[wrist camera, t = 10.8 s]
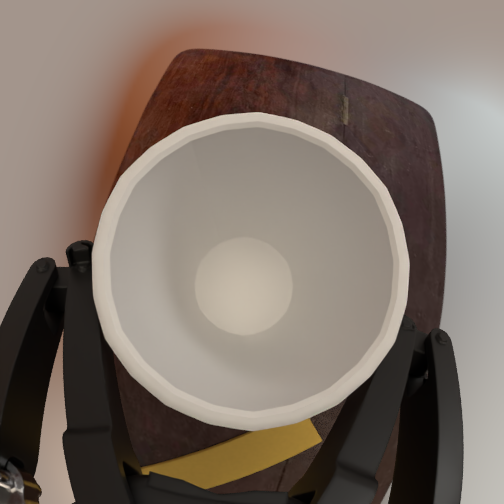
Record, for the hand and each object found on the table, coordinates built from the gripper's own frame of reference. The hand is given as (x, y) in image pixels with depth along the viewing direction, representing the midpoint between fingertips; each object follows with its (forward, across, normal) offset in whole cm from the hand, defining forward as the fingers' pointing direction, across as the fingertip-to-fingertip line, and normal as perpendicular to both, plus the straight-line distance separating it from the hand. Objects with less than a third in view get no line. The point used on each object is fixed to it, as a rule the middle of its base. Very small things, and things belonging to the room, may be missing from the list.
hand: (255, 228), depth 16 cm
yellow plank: (-8, +1, -24) cm, 25 cm away
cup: (+1, 0, -6) cm, 6 cm away
